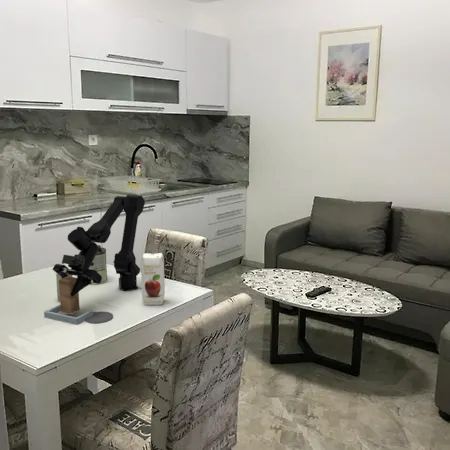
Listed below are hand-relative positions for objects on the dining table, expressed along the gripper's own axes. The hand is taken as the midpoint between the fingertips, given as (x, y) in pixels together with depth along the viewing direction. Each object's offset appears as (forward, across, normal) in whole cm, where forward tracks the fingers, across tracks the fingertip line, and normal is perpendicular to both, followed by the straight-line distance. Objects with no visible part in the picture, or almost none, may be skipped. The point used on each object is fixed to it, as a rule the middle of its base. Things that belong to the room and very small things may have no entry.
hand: (66, 294), depth 171 cm
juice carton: (-12, +19, +25) cm, 33 cm away
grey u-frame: (+5, 0, +7) cm, 9 cm away
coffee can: (-19, -18, +32) cm, 42 cm away
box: (-3, -14, +16) cm, 21 cm away
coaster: (+3, +10, +9) cm, 14 cm away
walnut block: (+4, 0, +6) cm, 7 cm away
